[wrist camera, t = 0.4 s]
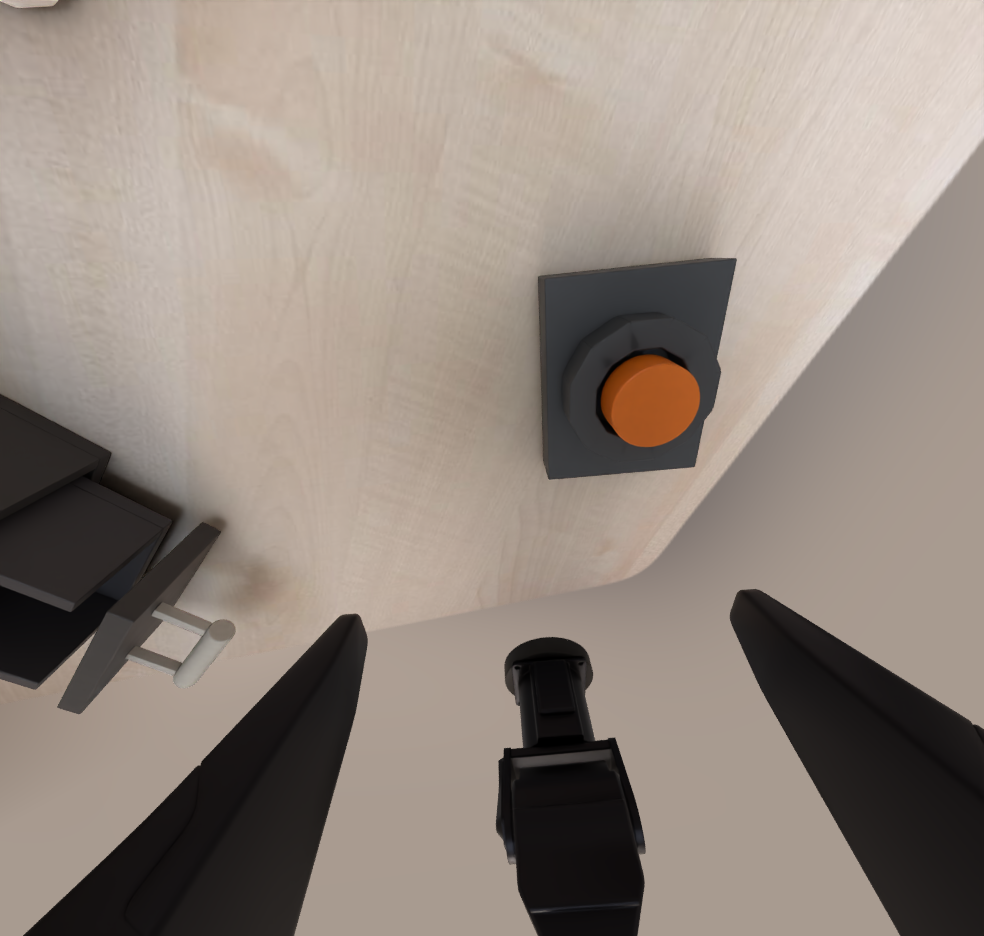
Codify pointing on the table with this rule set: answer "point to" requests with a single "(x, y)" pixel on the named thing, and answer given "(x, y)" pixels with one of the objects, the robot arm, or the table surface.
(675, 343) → the control block
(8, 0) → the cup
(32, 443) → the black box
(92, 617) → the drawer
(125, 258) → the table surface
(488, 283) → the table surface
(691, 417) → the button
